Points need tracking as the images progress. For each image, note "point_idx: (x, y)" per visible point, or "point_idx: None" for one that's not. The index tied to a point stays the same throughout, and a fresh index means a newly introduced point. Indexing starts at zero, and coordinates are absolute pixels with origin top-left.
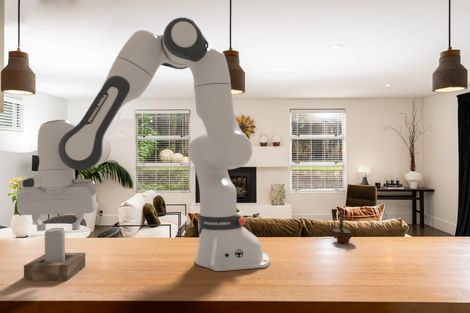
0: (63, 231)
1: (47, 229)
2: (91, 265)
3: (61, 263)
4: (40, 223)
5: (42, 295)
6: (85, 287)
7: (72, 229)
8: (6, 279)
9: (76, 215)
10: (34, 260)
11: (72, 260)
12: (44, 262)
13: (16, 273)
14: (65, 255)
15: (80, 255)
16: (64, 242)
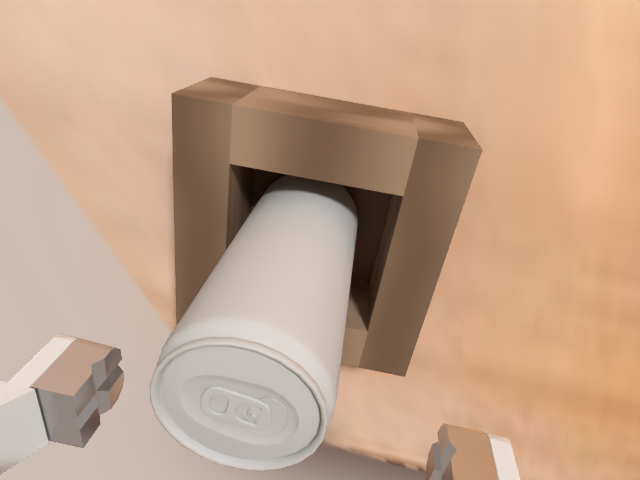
0: (330, 413)
1: (155, 388)
2: (503, 104)
3: (364, 346)
4: (32, 422)
5: (345, 423)
6: (490, 402)
7: (428, 465)
8: (112, 240)
9: None
10: (182, 256)
11: (416, 311)
12: (233, 225)
13: (101, 163)
14: (338, 182)
15: (452, 218)
16: (344, 321)
